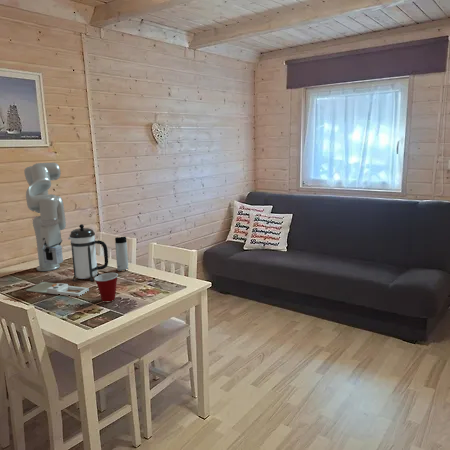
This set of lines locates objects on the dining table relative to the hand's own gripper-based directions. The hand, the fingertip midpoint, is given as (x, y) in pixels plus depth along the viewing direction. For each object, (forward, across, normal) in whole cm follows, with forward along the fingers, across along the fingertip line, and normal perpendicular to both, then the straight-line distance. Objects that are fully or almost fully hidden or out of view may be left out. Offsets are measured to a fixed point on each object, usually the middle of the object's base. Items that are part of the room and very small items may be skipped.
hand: (53, 257), depth 198 cm
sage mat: (+17, 0, -8) cm, 18 cm away
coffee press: (+17, -19, +6) cm, 26 cm away
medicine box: (+3, 0, 0) cm, 3 cm away
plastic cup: (+16, +6, +33) cm, 37 cm away
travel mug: (+17, -36, +17) cm, 43 cm away
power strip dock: (+16, +2, +8) cm, 18 cm away
